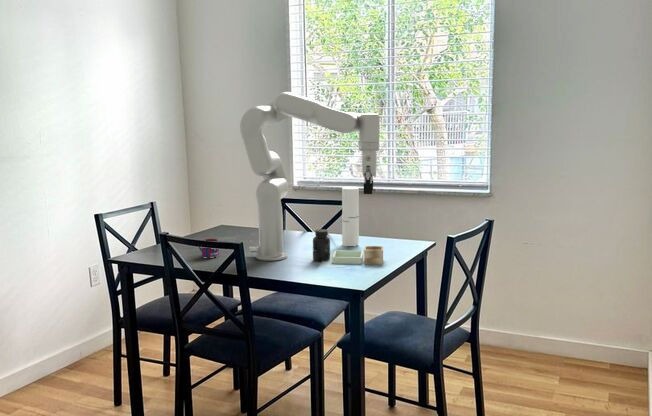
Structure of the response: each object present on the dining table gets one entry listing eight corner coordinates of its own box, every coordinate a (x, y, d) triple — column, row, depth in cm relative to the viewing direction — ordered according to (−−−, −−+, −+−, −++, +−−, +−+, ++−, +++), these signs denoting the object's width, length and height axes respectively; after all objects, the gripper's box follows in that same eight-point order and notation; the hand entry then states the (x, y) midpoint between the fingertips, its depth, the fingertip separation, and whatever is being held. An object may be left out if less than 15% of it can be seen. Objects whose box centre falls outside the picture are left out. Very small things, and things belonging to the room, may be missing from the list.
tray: (332, 264, 233) (332, 257, 232) (335, 257, 244) (335, 250, 243) (361, 265, 232) (361, 257, 231) (363, 258, 243) (363, 250, 242)
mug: (208, 259, 242) (207, 242, 241) (194, 255, 249) (193, 239, 248) (222, 256, 246) (221, 240, 245) (208, 252, 254) (207, 236, 252)
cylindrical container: (358, 246, 263) (359, 188, 259) (342, 246, 263) (342, 188, 259) (358, 243, 270) (358, 186, 266) (342, 243, 270) (342, 186, 266)
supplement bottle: (309, 261, 238) (309, 231, 236) (317, 257, 244) (317, 228, 242) (325, 263, 235) (325, 232, 233) (333, 259, 241) (333, 229, 239)
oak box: (364, 265, 232) (364, 249, 231) (364, 260, 239) (365, 245, 238) (382, 265, 231) (382, 250, 230) (383, 261, 238) (383, 246, 237)
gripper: (378, 148, 219) (377, 195, 222) (379, 145, 236) (378, 189, 239) (357, 148, 220) (357, 195, 223) (360, 145, 237) (359, 188, 240)
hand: (368, 192), depth 231 cm, fingers open, 9 cm apart
